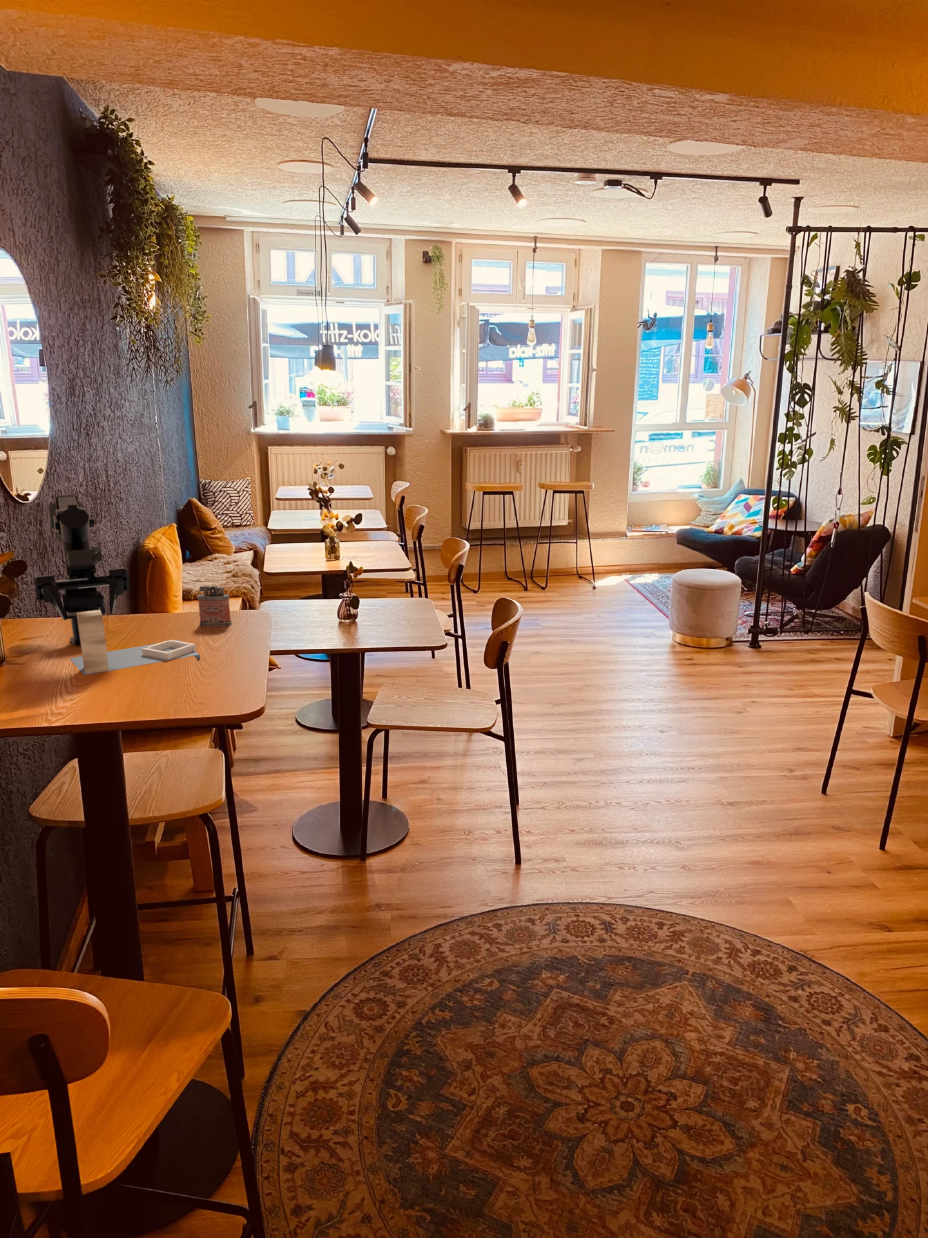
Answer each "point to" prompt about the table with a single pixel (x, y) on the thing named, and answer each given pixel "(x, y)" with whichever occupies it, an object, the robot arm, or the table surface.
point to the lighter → (214, 606)
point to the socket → (181, 650)
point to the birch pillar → (92, 641)
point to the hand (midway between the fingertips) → (88, 616)
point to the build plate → (129, 658)
